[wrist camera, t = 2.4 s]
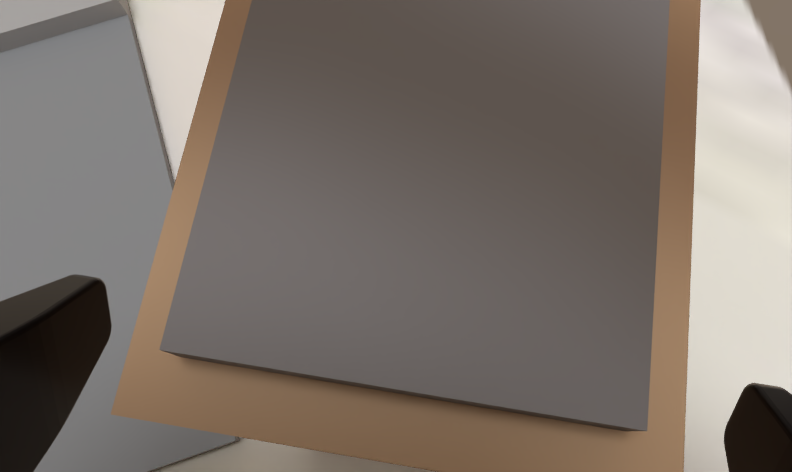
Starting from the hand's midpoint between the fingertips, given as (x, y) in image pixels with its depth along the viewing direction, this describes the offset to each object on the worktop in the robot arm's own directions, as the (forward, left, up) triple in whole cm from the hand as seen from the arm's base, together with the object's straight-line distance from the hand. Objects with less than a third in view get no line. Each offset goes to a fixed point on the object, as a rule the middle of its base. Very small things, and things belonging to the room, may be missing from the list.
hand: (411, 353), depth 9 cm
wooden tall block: (+2, +1, -9) cm, 10 cm away
